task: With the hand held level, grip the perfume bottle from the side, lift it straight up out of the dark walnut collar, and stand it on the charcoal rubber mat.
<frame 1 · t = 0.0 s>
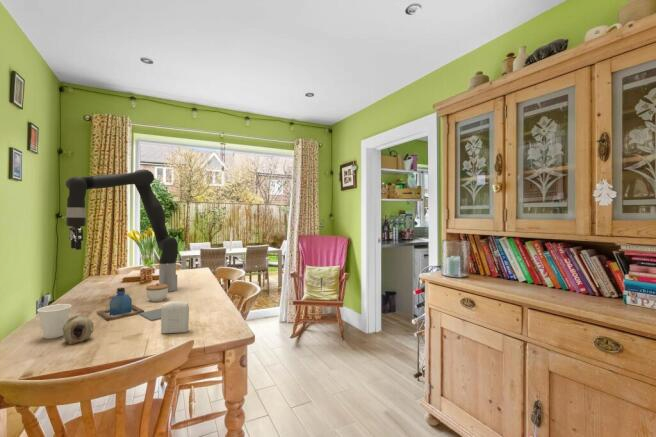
hand: (76, 248, 156), 29 cm above the table, tool pointing down, fingers open, 8 cm apart
cup: (54, 336, 120), on the table
lidded jar: (157, 300, 171), on the table
photo printer: (175, 332, 126), on the table
hollow beige lump: (79, 340, 116), on the table
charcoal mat: (161, 314, 148), on the table
perfume bottle: (120, 313, 148), resting in walnut collar
walnut collar: (120, 313, 148), on the table
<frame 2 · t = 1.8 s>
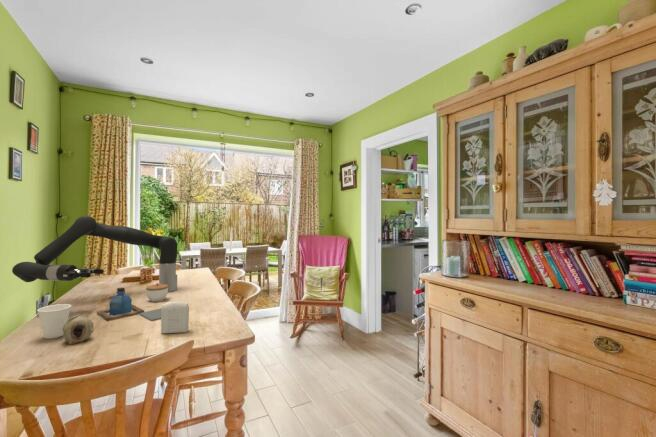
hand: (96, 273, 147), 19 cm above the table, tool horizontal, fingers open, 8 cm apart
nothing on the table moved.
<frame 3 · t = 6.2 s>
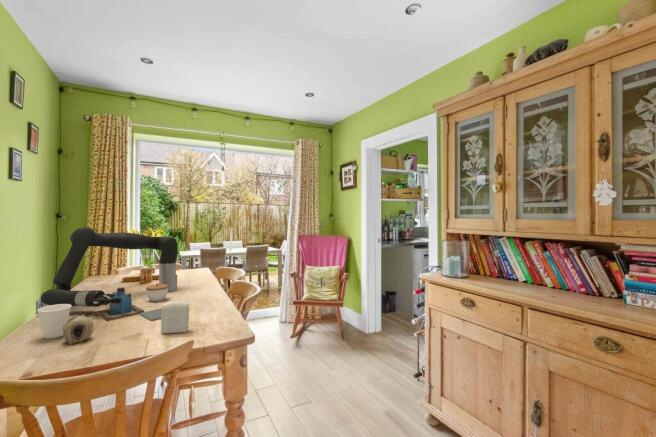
hand: (125, 298, 148), 7 cm above the table, tool horizontal, fingers closed on perfume bottle, 6 cm apart
perfume bottle: (120, 313, 148), resting in walnut collar, touching gripper
everything else where it was.
when the fingers open (9 cm above the table, at t = 13.7 s): perfume bottle drops 1 cm, resting on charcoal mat.
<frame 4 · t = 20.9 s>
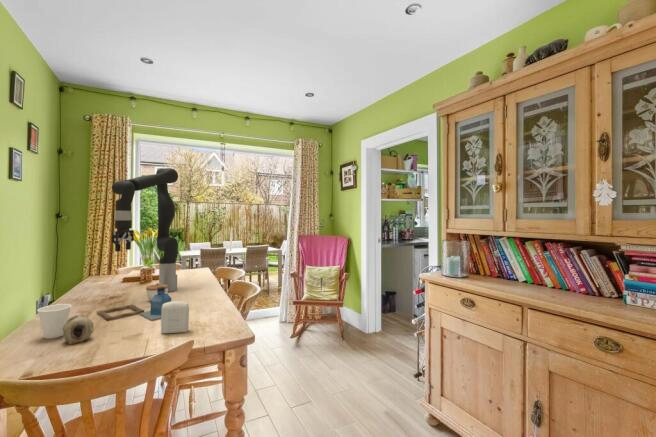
hand: (123, 250, 162), 28 cm above the table, tool pointing down, fingers open, 8 cm apart
perfume bottle: (160, 313, 148), resting on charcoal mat
everything else where it was.
at the end: perfume bottle inside the target area (0.1 cm from its centre), resting on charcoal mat; perfume bottle tilted 0°; the gripper is holding nothing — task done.
